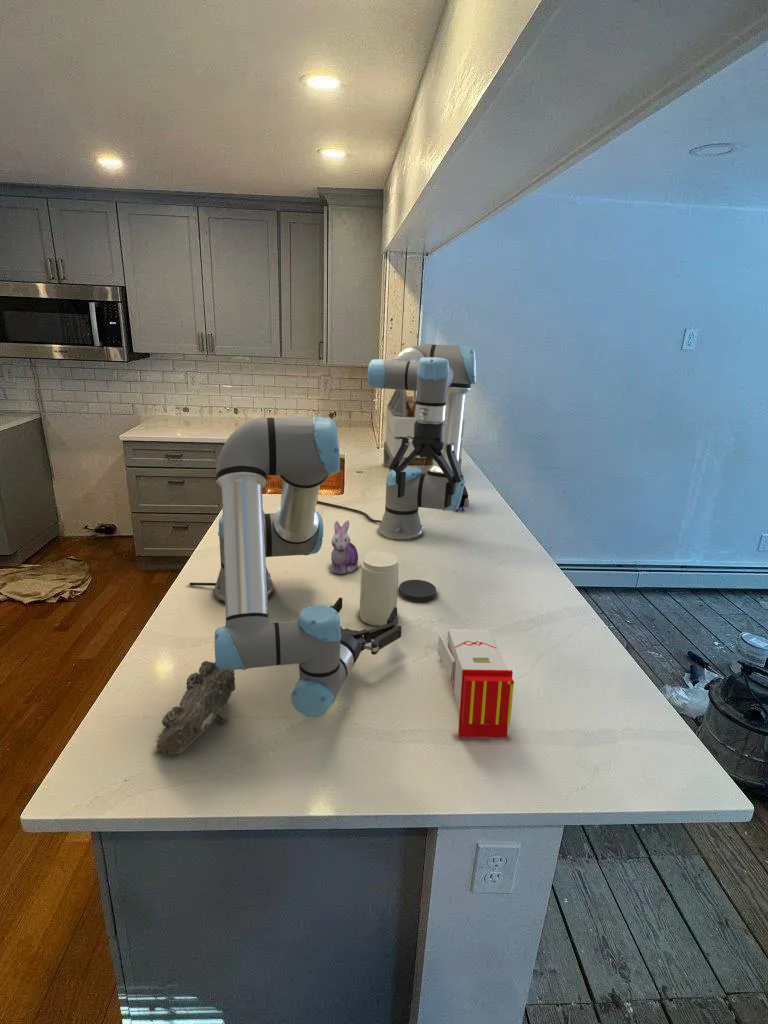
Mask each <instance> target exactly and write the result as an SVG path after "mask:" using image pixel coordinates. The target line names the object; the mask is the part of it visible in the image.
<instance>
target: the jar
mask: <svg viewBox="0 0 768 1024" xmlns="http://www.w3.org/2000/svg"><path fill="white" fill-rule="evenodd" d="M399 572H400V563H399V560H398V557H397V556H396V555H394V554H392V553H389V552H384V551H374V552H369V553H367V554H365V555H364V556H363V557H362V561H361V563H360V586H359V587H360V590H359V619H360V620H361V621H362V622H363V623H365V624H368V625H371V626H376V627H379V626H382V625H385V624H387V620H388V618H389V616H390V614H391V613H392V611H393V609H394V607H396V608H397V609H398V593H399Z"/></svg>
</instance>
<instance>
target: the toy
mask: <svg viewBox="0 0 768 1024" xmlns="http://www.w3.org/2000/svg"><path fill="white" fill-rule="evenodd" d="M446 640H447V643H446V641H445V639H444V636H443V635H442V634H439V637H438V646H437V656H438V657H439V659H440V661H441V663H442V666H443V668H444V670H445V672H446V674H447V677H448V679H449V681H450V684H451V687H452V690H453V693H454V697H455V701H456V705H457V708H458V711H459V714H458V715H459V716H458V730H457V731H458V732H457V737H458V738H508V731H509V726H510V725H511V717H512V707H513V697H514V696H513V695H514V684H515V680H514V679H513V673H514V671H513V670H512V669H508V667H507V665H506V662H505V661H504V659H503V658H502V655H501V653H500V651H499V649H498V647H497V643H496V639H495V637H494V635H493V634H491V632H490V631H489V629H467V628H466V629H465V628H463V629H461V628H460V629H459V628H448V630H447V639H446Z"/></svg>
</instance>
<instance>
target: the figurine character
mask: <svg viewBox="0 0 768 1024" xmlns="http://www.w3.org/2000/svg"><path fill="white" fill-rule="evenodd" d="M469 505H470V500H469V492H468V490H467V488H466V485H464V490H463V494H462V498H461V501H460V505H459V507H458V509H461V511H462V512H464V511H465V508H469ZM458 509H457V510H455V511H456V512H457V511H458Z"/></svg>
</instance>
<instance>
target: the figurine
mask: <svg viewBox="0 0 768 1024" xmlns="http://www.w3.org/2000/svg"><path fill="white" fill-rule="evenodd" d="M333 524H334V525H333V527H334V529H333V530H334V534H333V536H332V538H331V545H332V547H333V548H332V551H331V554H330V555H331V556H330V559H331V560H330V561H331V564H330V569H331V571H332V573H335V574H339V575H342V574H346V573H351V572H353V571H355V570H356V569H357V567H358V562H359V553H358V550H357V547H356V546H355V544H353V543H352V542H351V538H350V536H349V534H348V531H349V529H350V520H348V519H347V520H345V521H344V523H343V524H342V526H341V524H340V523H339V521H338V520H336V521H334V523H333Z"/></svg>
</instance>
